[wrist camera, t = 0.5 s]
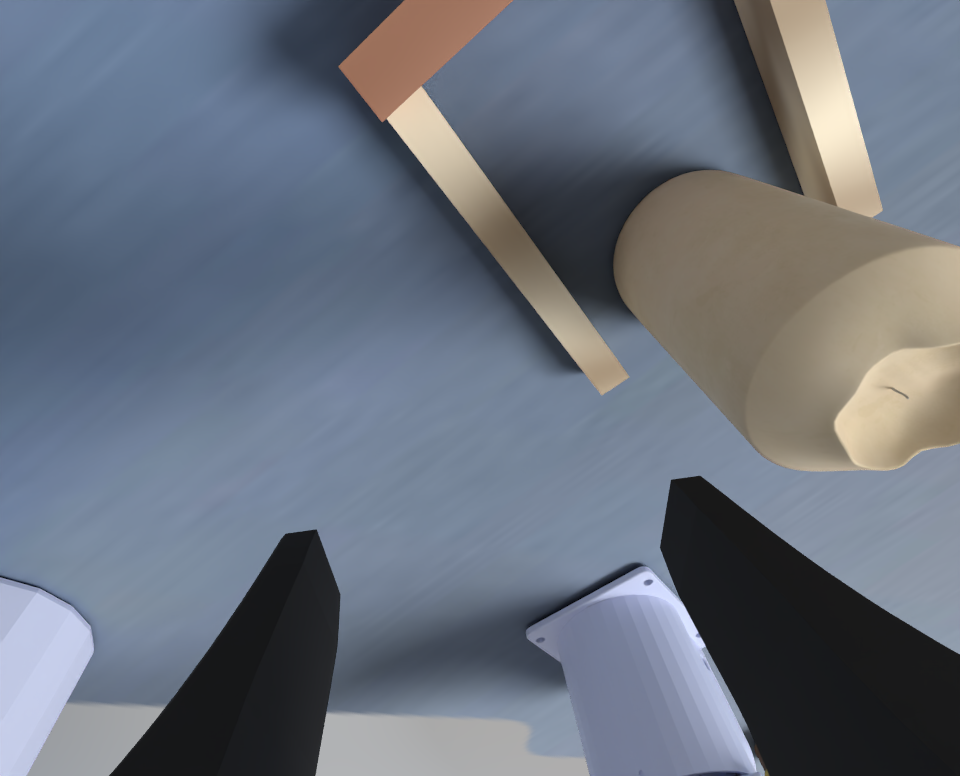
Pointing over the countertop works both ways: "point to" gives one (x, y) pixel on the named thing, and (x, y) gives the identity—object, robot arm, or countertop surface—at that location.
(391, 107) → the channel
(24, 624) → the soap bottle
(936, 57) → the countertop surface
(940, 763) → the robot arm
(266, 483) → the countertop surface
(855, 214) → the candle
